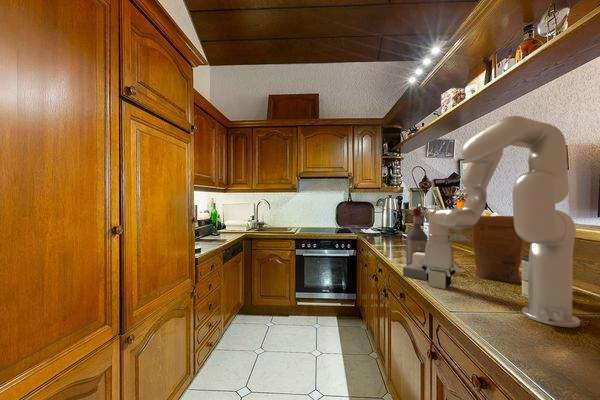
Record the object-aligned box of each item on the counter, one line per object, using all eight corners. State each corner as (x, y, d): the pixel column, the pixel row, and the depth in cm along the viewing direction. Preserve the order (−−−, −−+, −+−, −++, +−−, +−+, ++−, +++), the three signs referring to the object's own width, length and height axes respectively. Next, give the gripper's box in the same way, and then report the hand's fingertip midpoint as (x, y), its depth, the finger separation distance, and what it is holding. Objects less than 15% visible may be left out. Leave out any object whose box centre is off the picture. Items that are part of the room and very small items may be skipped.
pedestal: (431, 281, 119) (431, 271, 119) (403, 276, 127) (403, 267, 127) (438, 275, 128) (438, 266, 128) (411, 271, 136) (412, 262, 136)
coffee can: (545, 293, 104) (545, 255, 104) (567, 303, 94) (567, 261, 94) (514, 292, 106) (515, 254, 106) (533, 301, 95) (533, 260, 95)
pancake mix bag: (524, 285, 114) (525, 216, 114) (470, 277, 126) (470, 215, 126) (525, 282, 119) (525, 216, 119) (472, 274, 131) (473, 214, 131)
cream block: (426, 269, 123) (426, 255, 123) (412, 267, 127) (412, 253, 127) (430, 266, 128) (430, 253, 128) (416, 264, 132) (416, 252, 132)
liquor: (428, 270, 139) (428, 209, 139) (409, 269, 141) (409, 209, 141) (423, 265, 148) (424, 209, 148) (405, 265, 150) (405, 208, 150)
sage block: (444, 288, 108) (445, 273, 108) (428, 285, 112) (428, 270, 112) (448, 285, 113) (448, 270, 113) (432, 282, 117) (432, 268, 117)
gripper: (465, 240, 110) (464, 286, 110) (419, 236, 121) (419, 278, 121) (461, 242, 104) (461, 291, 104) (413, 238, 115) (413, 282, 115)
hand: (438, 283), depth 113 cm, fingers closed on sage block, 6 cm apart
